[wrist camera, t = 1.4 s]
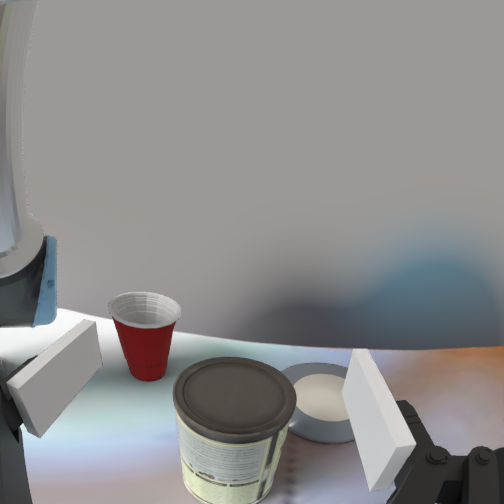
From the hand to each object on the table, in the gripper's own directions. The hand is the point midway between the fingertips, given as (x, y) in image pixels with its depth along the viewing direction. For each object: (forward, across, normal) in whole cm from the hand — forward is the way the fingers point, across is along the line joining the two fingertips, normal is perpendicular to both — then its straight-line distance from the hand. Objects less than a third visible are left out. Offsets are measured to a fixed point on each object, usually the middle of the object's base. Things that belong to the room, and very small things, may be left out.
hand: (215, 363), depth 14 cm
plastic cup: (+26, -15, -21) cm, 36 cm away
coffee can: (+8, 0, -22) cm, 24 cm away
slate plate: (+24, +13, -22) cm, 35 cm away
